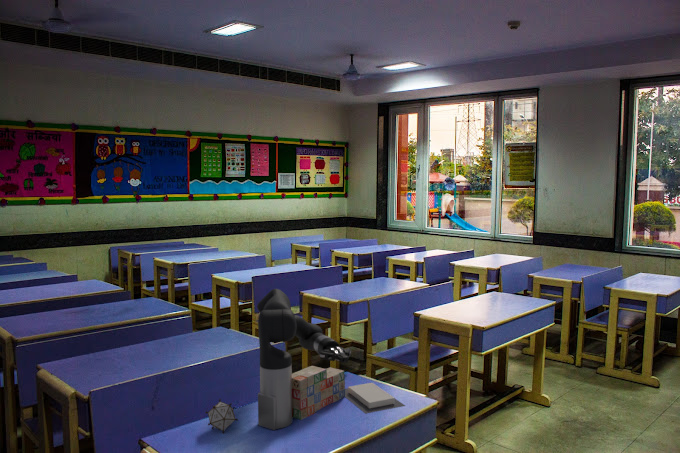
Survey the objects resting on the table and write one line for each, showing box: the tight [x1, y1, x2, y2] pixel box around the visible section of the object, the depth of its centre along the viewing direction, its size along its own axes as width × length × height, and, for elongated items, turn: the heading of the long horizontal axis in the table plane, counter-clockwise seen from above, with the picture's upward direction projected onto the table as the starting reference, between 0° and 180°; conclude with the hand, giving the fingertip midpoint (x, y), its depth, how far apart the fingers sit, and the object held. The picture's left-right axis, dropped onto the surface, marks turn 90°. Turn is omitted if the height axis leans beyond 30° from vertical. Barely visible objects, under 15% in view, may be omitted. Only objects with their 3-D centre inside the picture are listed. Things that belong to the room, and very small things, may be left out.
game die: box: [205, 398, 239, 435], centre depth 154 cm, size 9×8×10 cm
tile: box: [347, 382, 396, 408], centre depth 176 cm, size 2×9×15 cm
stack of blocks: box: [292, 365, 346, 421], centre depth 170 cm, size 21×6×12 cm, turn 141°
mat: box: [344, 387, 406, 415], centre depth 176 cm, size 21×14×1 cm, turn 25°
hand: (345, 360), depth 192 cm, fingers closed
